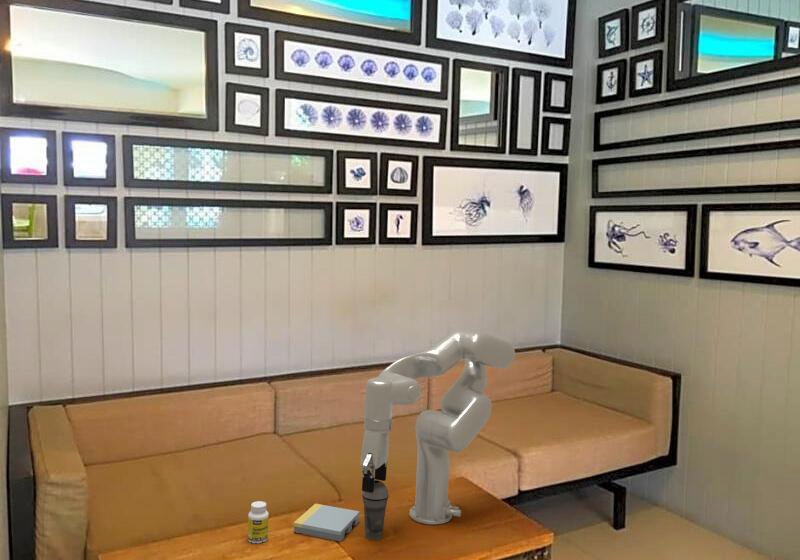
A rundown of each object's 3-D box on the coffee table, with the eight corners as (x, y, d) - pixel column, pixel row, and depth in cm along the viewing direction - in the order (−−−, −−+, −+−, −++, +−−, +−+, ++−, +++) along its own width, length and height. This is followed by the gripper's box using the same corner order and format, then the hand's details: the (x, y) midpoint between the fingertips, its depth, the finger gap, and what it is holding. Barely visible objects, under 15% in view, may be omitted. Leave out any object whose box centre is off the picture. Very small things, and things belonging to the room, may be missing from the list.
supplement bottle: (250, 545, 175) (251, 509, 175) (245, 536, 180) (246, 501, 179) (270, 542, 178) (271, 506, 177) (264, 533, 183) (265, 498, 182)
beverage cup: (383, 544, 179) (386, 471, 178) (357, 540, 181) (360, 468, 179) (389, 532, 187) (392, 462, 185) (364, 528, 188) (367, 459, 186)
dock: (359, 521, 192) (359, 511, 192) (340, 542, 179) (340, 531, 179) (315, 513, 197) (315, 503, 197) (293, 533, 183) (293, 522, 183)
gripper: (375, 414, 191) (372, 473, 192) (353, 429, 174) (349, 494, 175) (400, 418, 188) (397, 477, 189) (380, 434, 172) (376, 499, 173)
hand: (374, 485), depth 182 cm, fingers open, 9 cm apart
